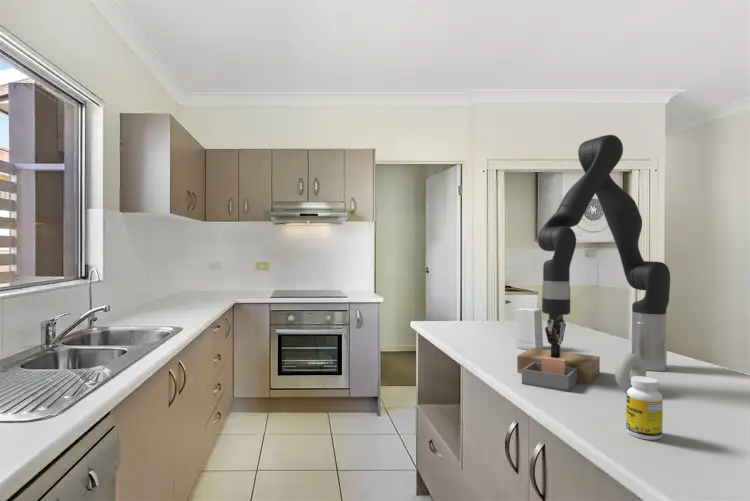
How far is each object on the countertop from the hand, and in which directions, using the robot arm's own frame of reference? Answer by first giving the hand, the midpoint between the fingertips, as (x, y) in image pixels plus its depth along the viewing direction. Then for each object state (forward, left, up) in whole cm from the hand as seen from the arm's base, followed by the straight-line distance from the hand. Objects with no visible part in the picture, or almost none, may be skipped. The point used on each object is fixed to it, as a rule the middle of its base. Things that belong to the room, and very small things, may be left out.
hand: (555, 357), depth 132 cm
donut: (-19, +1, -6) cm, 20 cm away
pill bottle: (-25, +31, -6) cm, 40 cm away
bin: (0, +6, -6) cm, 8 cm away
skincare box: (+19, -36, -6) cm, 41 cm away
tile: (-1, +3, -2) cm, 4 cm away
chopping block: (+1, -7, -6) cm, 9 cm away
